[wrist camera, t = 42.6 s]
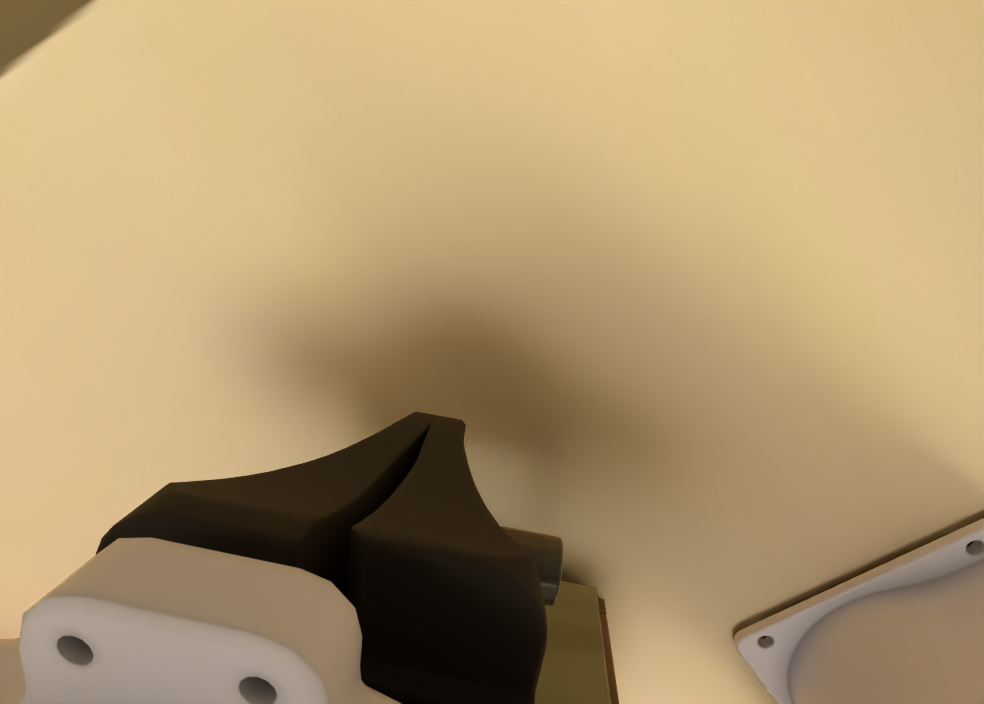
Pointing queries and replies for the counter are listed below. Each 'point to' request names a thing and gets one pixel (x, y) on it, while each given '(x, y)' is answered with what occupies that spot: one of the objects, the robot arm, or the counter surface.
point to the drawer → (566, 629)
